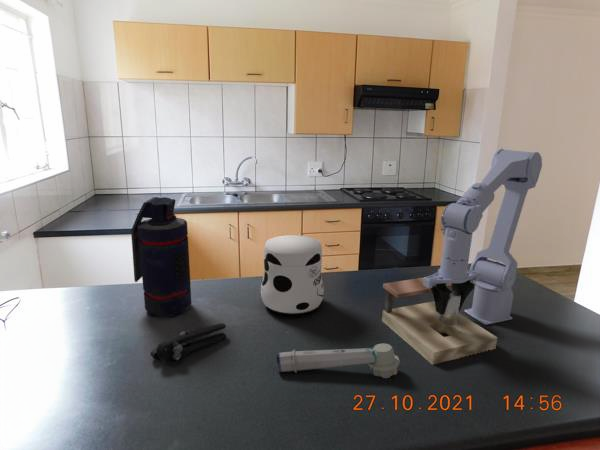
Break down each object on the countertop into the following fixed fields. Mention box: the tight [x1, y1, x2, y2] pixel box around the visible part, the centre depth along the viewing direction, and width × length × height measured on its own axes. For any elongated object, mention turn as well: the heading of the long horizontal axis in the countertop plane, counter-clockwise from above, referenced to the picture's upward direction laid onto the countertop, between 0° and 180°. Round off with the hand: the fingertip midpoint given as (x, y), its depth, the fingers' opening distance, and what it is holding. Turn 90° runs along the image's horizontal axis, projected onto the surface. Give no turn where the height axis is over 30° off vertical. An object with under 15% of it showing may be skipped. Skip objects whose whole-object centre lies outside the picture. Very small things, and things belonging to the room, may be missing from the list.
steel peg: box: [439, 289, 461, 325], centre depth 95 cm, size 4×4×7 cm
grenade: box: [130, 196, 192, 318], centre depth 106 cm, size 14×12×30 cm
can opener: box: [150, 322, 227, 365], centre depth 91 cm, size 18×7×6 cm, turn 134°
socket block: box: [381, 276, 498, 366], centre depth 99 cm, size 19×20×10 cm
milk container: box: [260, 234, 325, 316], centre depth 111 cm, size 17×17×18 cm
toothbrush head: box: [276, 342, 400, 379], centre depth 85 cm, size 5×7×25 cm
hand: (447, 311), depth 96 cm, fingers closed on steel peg, 4 cm apart
